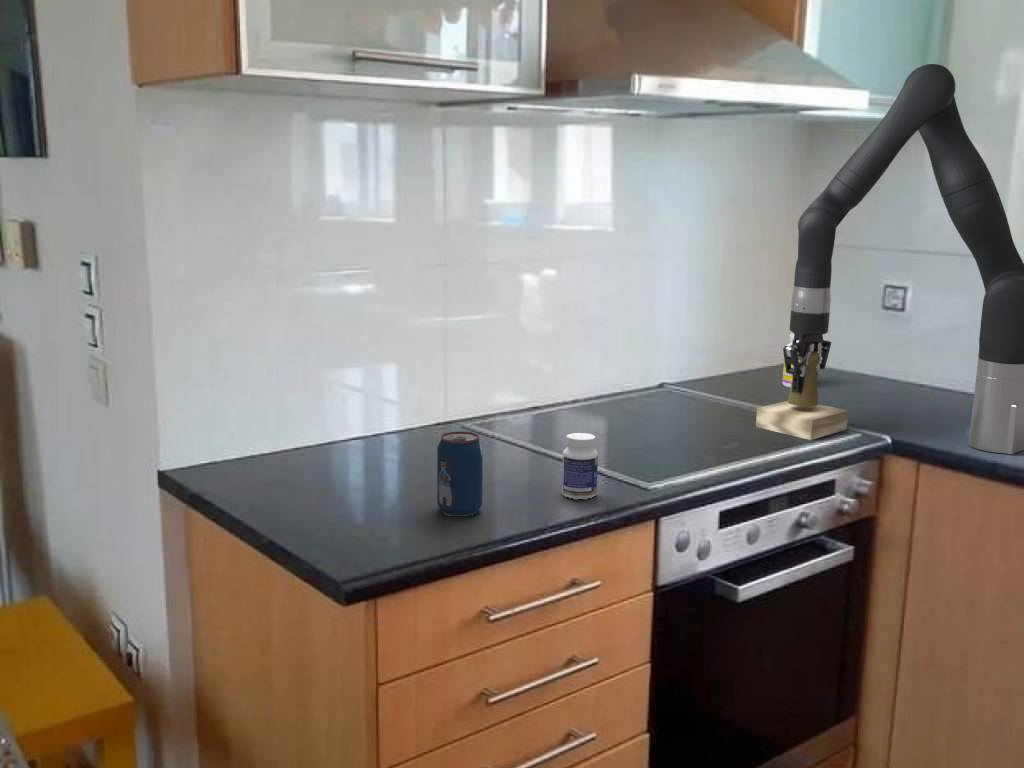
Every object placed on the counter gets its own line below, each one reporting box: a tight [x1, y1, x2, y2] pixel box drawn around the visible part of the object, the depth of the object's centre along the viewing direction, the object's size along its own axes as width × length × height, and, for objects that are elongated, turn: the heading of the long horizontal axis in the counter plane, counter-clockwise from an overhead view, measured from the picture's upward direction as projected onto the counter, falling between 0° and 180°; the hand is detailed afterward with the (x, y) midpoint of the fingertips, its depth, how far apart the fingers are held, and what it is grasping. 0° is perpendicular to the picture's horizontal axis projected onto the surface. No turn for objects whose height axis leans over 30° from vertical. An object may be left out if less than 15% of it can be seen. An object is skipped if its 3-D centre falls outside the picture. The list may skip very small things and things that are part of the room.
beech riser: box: [755, 400, 849, 441], centre depth 212 cm, size 13×13×4 cm
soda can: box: [436, 431, 484, 517], centre depth 159 cm, size 7×7×12 cm
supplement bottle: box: [782, 332, 794, 389], centre depth 251 cm, size 7×7×13 cm
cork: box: [787, 351, 820, 407], centre depth 211 cm, size 6×6×11 cm
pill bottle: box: [561, 432, 599, 500], centre depth 168 cm, size 6×6×10 cm
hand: (804, 392), depth 211 cm, fingers closed on cork, 4 cm apart
